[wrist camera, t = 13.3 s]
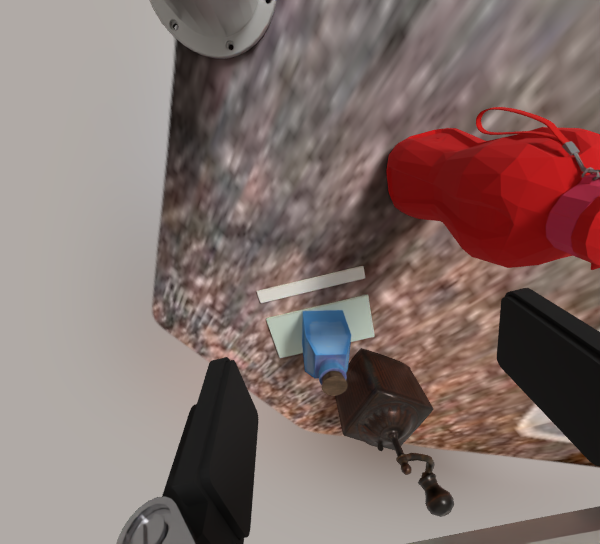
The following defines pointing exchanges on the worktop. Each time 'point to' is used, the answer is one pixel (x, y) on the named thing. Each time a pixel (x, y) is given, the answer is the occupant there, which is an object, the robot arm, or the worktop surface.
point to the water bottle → (505, 190)
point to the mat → (290, 324)
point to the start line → (311, 284)
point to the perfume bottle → (326, 348)
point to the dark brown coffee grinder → (389, 415)
